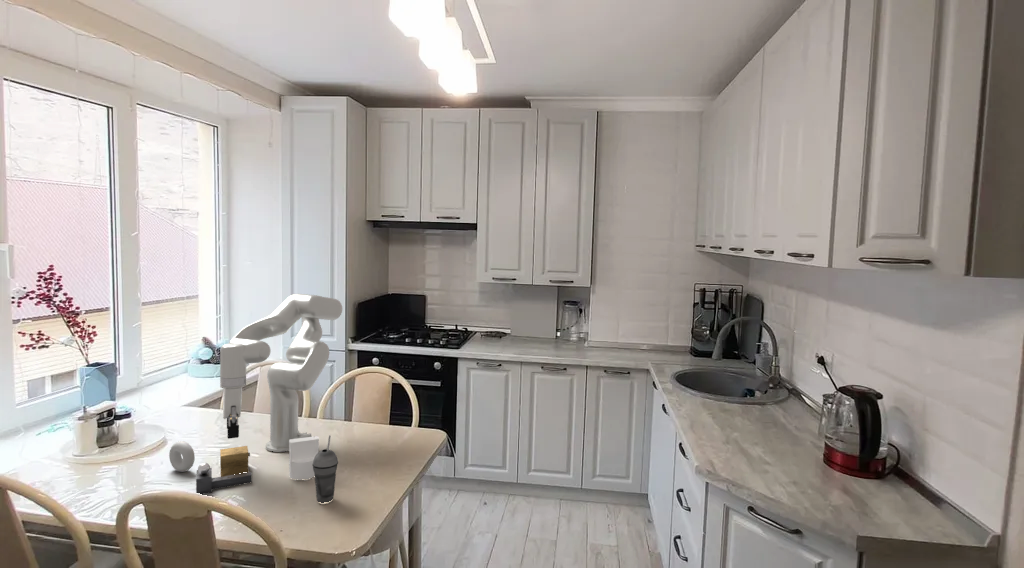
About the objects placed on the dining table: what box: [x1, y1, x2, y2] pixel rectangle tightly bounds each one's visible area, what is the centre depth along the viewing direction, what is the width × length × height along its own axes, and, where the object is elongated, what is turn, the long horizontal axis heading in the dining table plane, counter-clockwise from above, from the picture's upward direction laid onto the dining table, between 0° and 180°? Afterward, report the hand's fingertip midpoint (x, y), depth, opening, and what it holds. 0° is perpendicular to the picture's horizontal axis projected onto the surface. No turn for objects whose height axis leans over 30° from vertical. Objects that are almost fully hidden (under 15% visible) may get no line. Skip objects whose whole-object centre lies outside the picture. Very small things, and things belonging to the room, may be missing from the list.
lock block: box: [219, 445, 251, 477], centre depth 175 cm, size 9×6×7 cm
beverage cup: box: [312, 434, 339, 503], centre depth 157 cm, size 7×7×20 cm
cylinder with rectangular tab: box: [288, 435, 320, 481], centre depth 174 cm, size 9×9×12 cm
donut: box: [168, 440, 196, 473], centre depth 174 cm, size 10×4×10 cm, turn 66°
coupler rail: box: [195, 462, 253, 495], centre depth 165 cm, size 15×7×8 cm, turn 119°
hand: (232, 432), depth 174 cm, fingers open, 9 cm apart
